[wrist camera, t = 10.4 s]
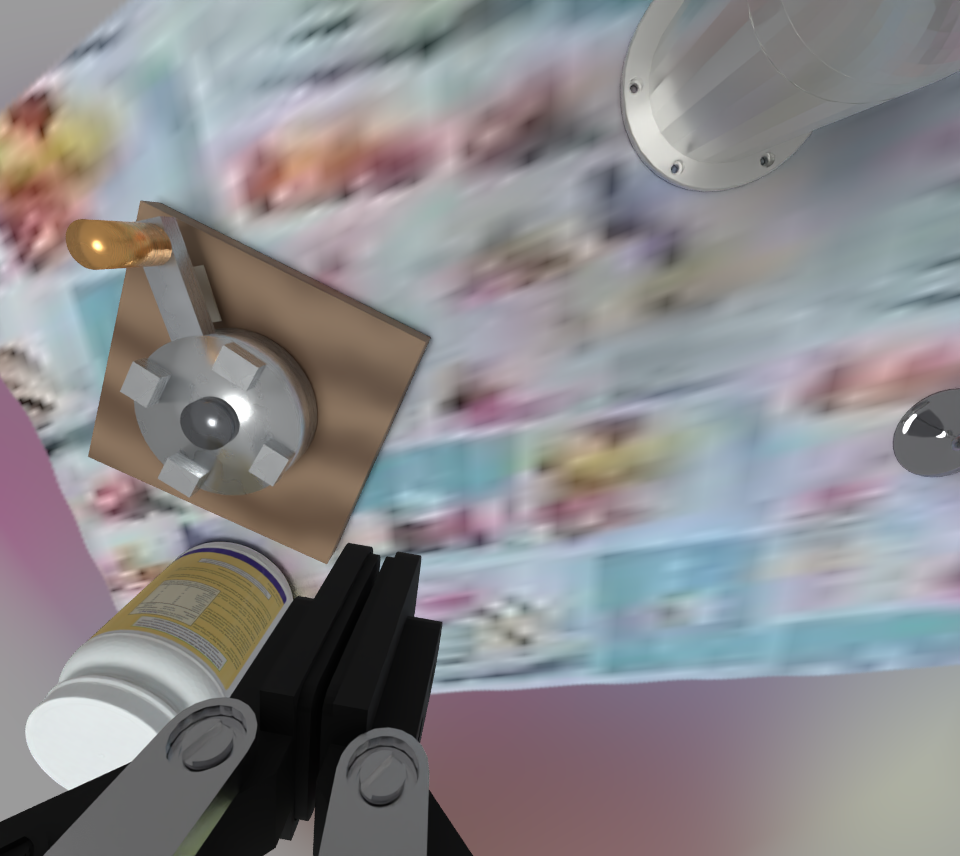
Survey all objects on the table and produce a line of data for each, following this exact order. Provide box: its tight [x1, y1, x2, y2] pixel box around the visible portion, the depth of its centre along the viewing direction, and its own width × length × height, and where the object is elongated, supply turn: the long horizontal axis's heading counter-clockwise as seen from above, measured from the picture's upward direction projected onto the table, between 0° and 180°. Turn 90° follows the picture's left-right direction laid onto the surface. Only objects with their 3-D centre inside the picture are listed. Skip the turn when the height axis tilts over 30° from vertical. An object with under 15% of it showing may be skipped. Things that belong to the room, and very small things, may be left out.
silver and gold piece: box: [66, 216, 317, 498], centre depth 34 cm, size 20×12×8 cm, turn 10°
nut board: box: [88, 201, 430, 564], centre depth 40 cm, size 22×22×2 cm
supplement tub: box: [25, 542, 293, 790], centre depth 41 cm, size 12×12×17 cm
